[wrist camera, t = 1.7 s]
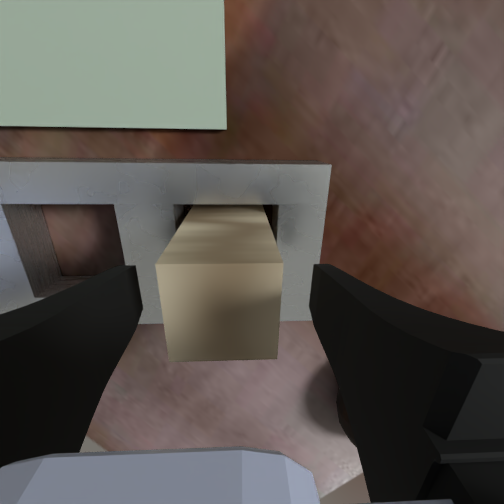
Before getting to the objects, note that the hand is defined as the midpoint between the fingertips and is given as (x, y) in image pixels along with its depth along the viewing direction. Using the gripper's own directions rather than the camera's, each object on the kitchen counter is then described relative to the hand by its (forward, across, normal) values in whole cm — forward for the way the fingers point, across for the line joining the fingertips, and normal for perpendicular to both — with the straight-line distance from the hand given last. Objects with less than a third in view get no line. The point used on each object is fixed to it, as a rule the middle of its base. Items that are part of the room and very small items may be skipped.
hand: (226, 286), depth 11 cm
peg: (+6, 0, 0) cm, 6 cm away
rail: (+6, +4, 0) cm, 7 cm away
